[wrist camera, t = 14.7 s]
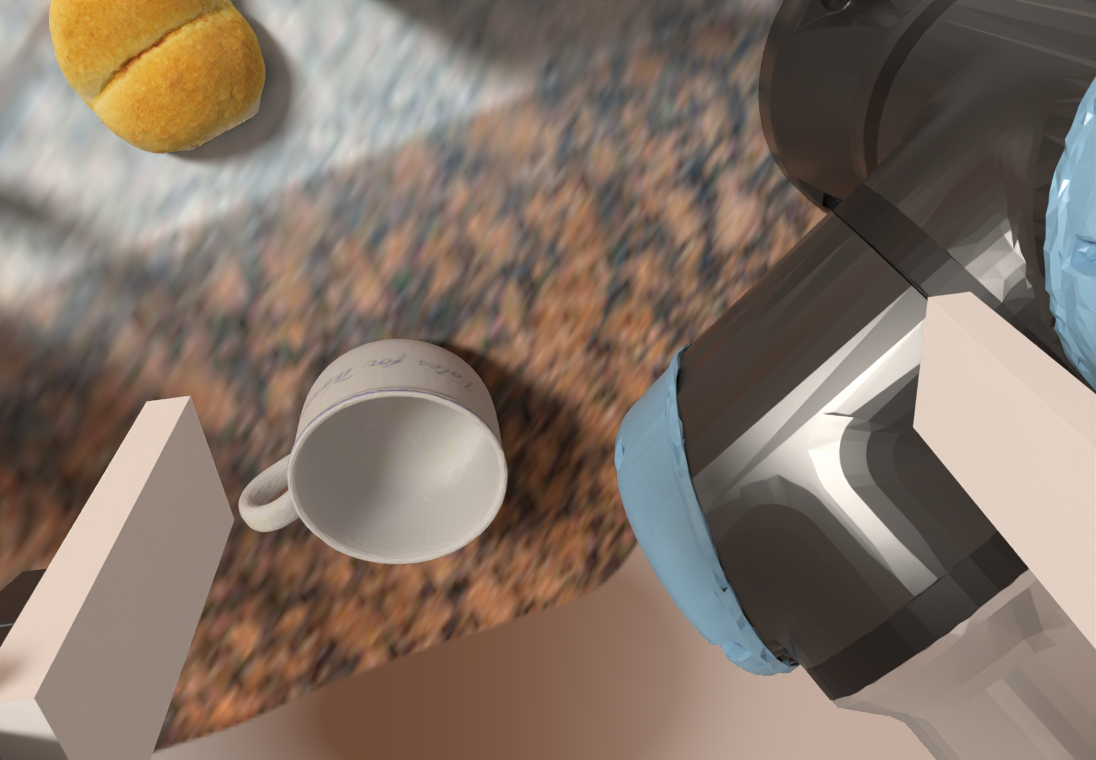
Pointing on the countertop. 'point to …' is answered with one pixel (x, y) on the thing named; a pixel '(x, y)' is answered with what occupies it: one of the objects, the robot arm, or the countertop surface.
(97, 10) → the bread roll
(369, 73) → the countertop surface
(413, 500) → the teacup
